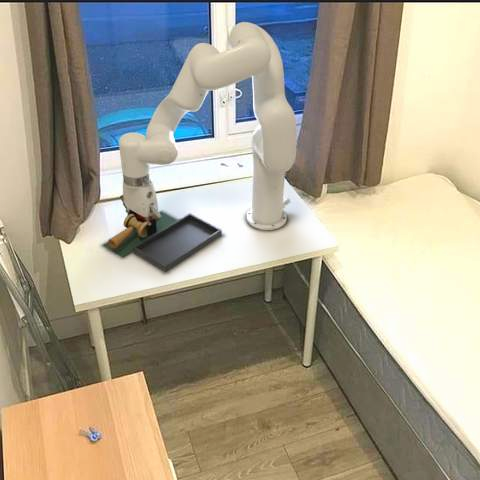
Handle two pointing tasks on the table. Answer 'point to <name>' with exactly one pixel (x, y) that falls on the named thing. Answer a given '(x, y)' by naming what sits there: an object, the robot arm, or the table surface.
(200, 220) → the dark grey flat tray
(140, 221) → the kendama
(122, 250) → the mat
